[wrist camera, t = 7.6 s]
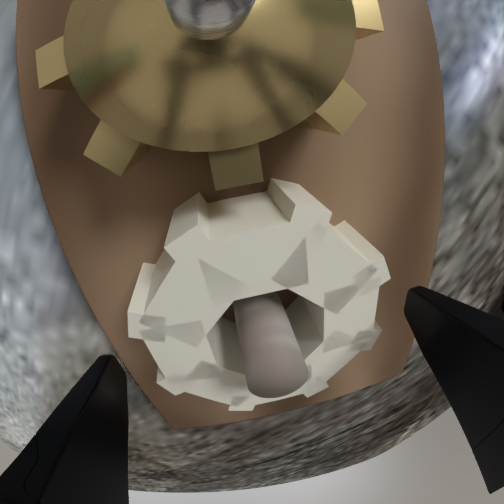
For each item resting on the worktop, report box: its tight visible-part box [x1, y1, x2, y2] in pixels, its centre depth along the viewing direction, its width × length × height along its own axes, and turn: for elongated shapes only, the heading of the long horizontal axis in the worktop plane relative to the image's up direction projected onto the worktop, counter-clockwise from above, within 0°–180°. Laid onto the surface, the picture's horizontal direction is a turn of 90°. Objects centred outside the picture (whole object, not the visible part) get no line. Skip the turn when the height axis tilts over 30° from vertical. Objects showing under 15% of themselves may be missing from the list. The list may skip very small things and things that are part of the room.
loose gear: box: [127, 178, 391, 411], centre depth 9 cm, size 7×7×2 cm
